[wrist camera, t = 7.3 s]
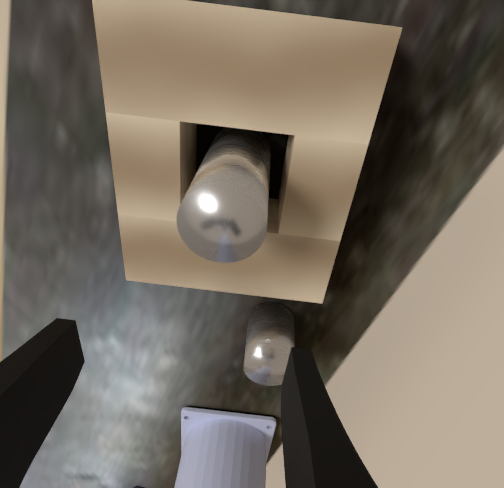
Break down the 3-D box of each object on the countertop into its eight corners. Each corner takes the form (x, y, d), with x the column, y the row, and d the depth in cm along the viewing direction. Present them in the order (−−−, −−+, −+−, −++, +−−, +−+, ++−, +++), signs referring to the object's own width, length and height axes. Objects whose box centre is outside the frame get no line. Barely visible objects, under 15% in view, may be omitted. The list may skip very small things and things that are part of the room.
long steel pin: (265, 187, 18) (259, 268, 13) (208, 177, 18) (175, 255, 12) (276, 129, 17) (274, 193, 11) (213, 118, 17) (178, 176, 11)
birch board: (315, 262, 21) (322, 303, 18) (147, 242, 21) (126, 280, 18) (376, 24, 14) (402, 27, 11) (129, -7, 14) (90, -12, 11)
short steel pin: (287, 337, 24) (288, 389, 21) (245, 329, 24) (239, 380, 21) (298, 306, 23) (302, 357, 19) (252, 298, 23) (248, 348, 19)
